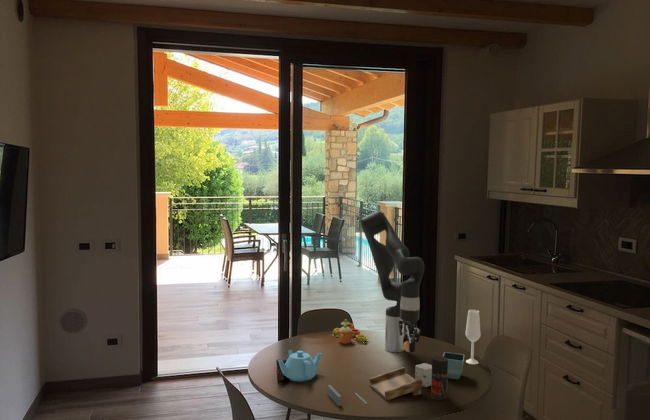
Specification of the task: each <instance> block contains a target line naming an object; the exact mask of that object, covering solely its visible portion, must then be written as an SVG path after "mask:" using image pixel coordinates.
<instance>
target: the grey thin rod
mask: <svg viewBox="0 0 650 420" xmlns="http://www.w3.org/2000/svg"><path fill="white" fill-rule="evenodd" d="M353 395H355V396H356V397H357V398H359V400H360V401H362V402H363V403H364V404H365V405H368V404H369V403H368V402H367V401H366V400H365V399H364V398H363V397H362V396H360V394H358V393H357V392H353Z"/></svg>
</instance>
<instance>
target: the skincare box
mask: <svg viewBox="0 0 650 420" xmlns="http://www.w3.org/2000/svg"><path fill="white" fill-rule="evenodd" d="M414 367H415V368H414V369H415V371H414V379H415V380H419V379H422V387H424V388H427V387H430V386H431V380H432V364H430V363H427V362H423V363H420V364H416V365H415V366H414Z"/></svg>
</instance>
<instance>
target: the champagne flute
mask: <svg viewBox="0 0 650 420" xmlns="http://www.w3.org/2000/svg"><path fill="white" fill-rule="evenodd" d="M480 320H481V319H480V310H477V309H469V310H467V318H466V327H465V334H464V335H465V336H466V339H467V340H468V341H470V342H471V343H470V344H471V345H470V348H471V349H470V358H469V359H466V360H465V363H467V364H469V365H478V364H479V362H478V360H476V359H475V358H474V357H475V355H474V354H475V343H476V342H477V341H478V340H479V339H480V338H481V334H482V333H481V321H480Z"/></svg>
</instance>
